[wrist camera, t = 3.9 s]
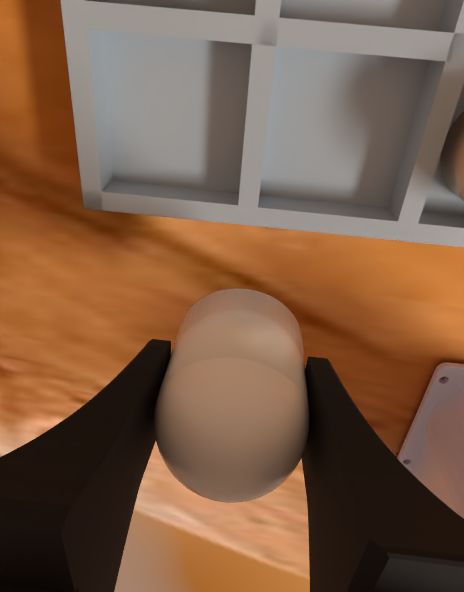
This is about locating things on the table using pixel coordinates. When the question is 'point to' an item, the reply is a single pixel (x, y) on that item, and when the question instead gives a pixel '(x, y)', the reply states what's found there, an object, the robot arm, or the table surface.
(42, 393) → the table surface
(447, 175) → the brown egg
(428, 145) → the egg tray
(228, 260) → the table surface
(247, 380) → the light brown egg
